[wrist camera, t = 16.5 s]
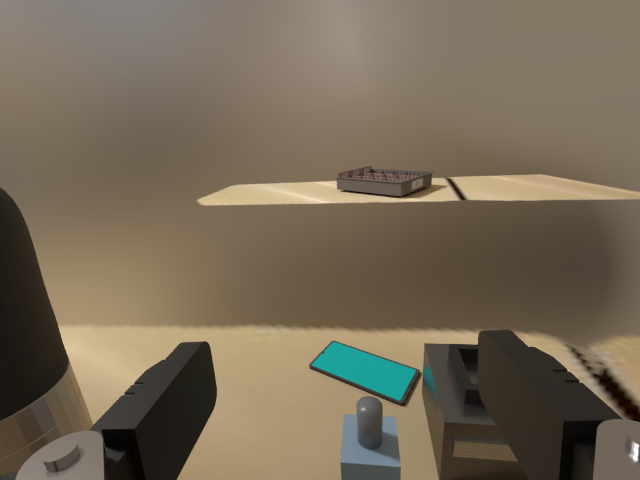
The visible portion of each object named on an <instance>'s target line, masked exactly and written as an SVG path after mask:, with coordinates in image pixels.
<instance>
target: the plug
mask: <svg viewBox="0 0 640 480" xmlns="http://www.w3.org/2000/svg"><path fill="white" fill-rule="evenodd" d="M356 407H357V415H348V414H344V423H343V437H342V450H341V478H342V480H400V473H401V466H400V456H399V446H398V436H397V426H396V417H383V416H382V404H381V402H380V401H379V400H378V399H376V398H374V397H370V396H367V397H363V398H361V399H360V400H359V401H358V402H357V405H356Z"/></svg>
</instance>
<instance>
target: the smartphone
mask: <svg viewBox="0 0 640 480" xmlns="http://www.w3.org/2000/svg"><path fill="white" fill-rule="evenodd" d="M309 366H310V369H312V370H315V371H317V372H320V373H322V374H324V375H327V376H329V377H332V378H334V379H337V380H339V381H341V382H344V383H346V384H349V385H351V386H354V387H356V388H358V389H361V390H363V391H366V392H368V393H370V394H373V395H375V396H378V397H380V398H383V399H385V400H387V401H390V402H392V403H395V404H397V405H400V406H403V405H404V403H405V401H406V399H407V397H408V395H409V393H410V391H411V389H412V387H413V385H414V384H415V382H416V380H417V378H418V376H419V372H420V371H419V370H418V369H415V368H412V367H409V366H406V365H403V364H400V363H398V362H395V361H392V360H389V359H386V358H383V357H380V356H377V355H374V354H371V353H368V352H365V351H363V350H360V349H357V348H354V347H351V346H348V345H345V344H342V343H339V342H336V341H332V342H331V343H330V344H329V345H328V346H327V347H326V348H325V349H324V350H323V351H322V352H321V353H320V354H319V355H318V356H317V357H316V358H315V359H314V360H313V361H312V362H311V363H310V365H309Z"/></svg>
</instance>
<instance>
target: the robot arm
mask: <svg viewBox="0 0 640 480" xmlns="http://www.w3.org/2000/svg"><path fill="white" fill-rule="evenodd" d="M477 382H478V389H479V394H480V397H481V400H482V402H483V404H484V406H485V407H486V409H487V411H488V412H489V414H490V416H491V417H492V419H493V421H494V422H495V424H496V425H497V427H498V429H499V430H500V432H501V434H502V435H503V437H504V439H505V440H506V442H507V444H508V445H509V447H510V449H511V450H512V452H513V454H514V455H515V457H516V459H517V460H518V462H519V464H520V465H521V467H522V468H523V470H524V472H525V473H526V475H527V477H528V478H529V480H640V422H636V421H631V420H624V419H622V418H621V417H620V416H619V415H618V414H617V413H616V412H614V411H613V410H612V409H611V408H610V407H609V406H608V405H607V404H605V403H604V402H603V401H602V400H601V399H600V398H599V397H598V396H596V395H595V394H594V393H593V392H592V391H591V390H590V389H589V388H587V387H586V386H585V385H584V384H583V383H580V382H579V380H578V379H577V378H576V377H575V376H574V375H573V374H572V373H571V372H568V371H567V369H566V368H565V367H564V366H563V365H562V364H560V363H559V362H558V361H557V360H556V359H555V358H554V357H552V356H550V355H548V354H547V353H545V352H543V351H541V350H539V349H537V348H535V347H528V346H527V345H526V344H525V343H524V342H523V341H522V340H521V339H519V338H518V337H517V336H516V335H515V334H514V333H513V332H512V331H511V330H488V331H481V332H480V333H479V337H478V372H477ZM216 397H217V387H216V380H215V374H214V367H213V361H212V355H211V349H210V346H209V344H208V342H183V343H180V344H179V345H178V346H177V347H176V348H175V349H174V351H173V352H172V353H171V354H170V355H169V356H168V357H167V358H166V359H165V360H162V361H160V362H159V363H157V364H155V365H154V366H152V367H151V368H149V369H148V370H146V371H145V372H144V373H143V374H142V375H141V376H140V377H139V378H138V379H137V380H136V381H135V384H134V385H132V386H131V387H130V388H129V389H128V390H127V391H126V392H125V395H122V396H121V397H120V398H119V399H118V400H117V401H116V402H115V403H114V404H113V405H112V406H111V407H110V408H109V410H108V411H107V412H106V413H105V414H104V415H103V416H102V417H101V418H100V419H99V420H98V421H97V422H96V423H95V424H94V425H93V422H92V419H91V417H90V414H89V411H88V409H87V406H86V403H85V401H84V398H83V395H82V393H81V390H80V387H79V385H78V382H77V380H76V377H75V374H74V372H73V369H72V366H71V364H70V361H69V358H68V356H67V353H66V350H65V348H64V345H63V342H62V338H61V335H60V331H59V328H58V324H57V321H56V318H55V315H54V312H53V309H52V306H51V304H50V300H49V298H48V295H47V291H46V288H45V285H44V282H43V278H42V275H41V271H40V267H39V264H38V260H37V257H36V253H35V249H34V246H33V242H32V239H31V236H30V233H29V230H28V227H27V225H26V223H25V220H24V218H23V216H22V214H21V212H20V210H19V208H18V207H17V205H16V203H15V202H14V200H13V199H12V198H11V197H10V196H9V195H8V194H7V193H6V192H5V191H4V190H3V189H1V188H0V480H177V478H178V476H179V474H180V472H181V470H182V468H183V466H184V464H185V463H186V461H187V459H188V457H189V455H190V453H191V451H192V449H193V447H194V445H195V444H196V442H197V440H198V438H199V436H200V434H201V432H202V430H203V428H204V427H205V425H206V423H207V421H208V419H209V417H210V415H211V413H212V411H213V409H214V407H215V403H216Z"/></svg>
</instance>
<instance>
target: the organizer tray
mask: <svg viewBox="0 0 640 480" xmlns="http://www.w3.org/2000/svg"><path fill="white" fill-rule="evenodd" d="M432 173H433V172H422V171H403V170H384V169H371V166H368V167H363V168H359V169H355V170H351V171H346V172H342V173H338V177H336V178H337V189H339V190H348V191H357V192H366V193H375V194H384V195H394V196H403V195H406V194H408V193H411V192H414V191H416V190H419V189H422V188H425V187H427V186H430V185H431V181H432Z"/></svg>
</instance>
